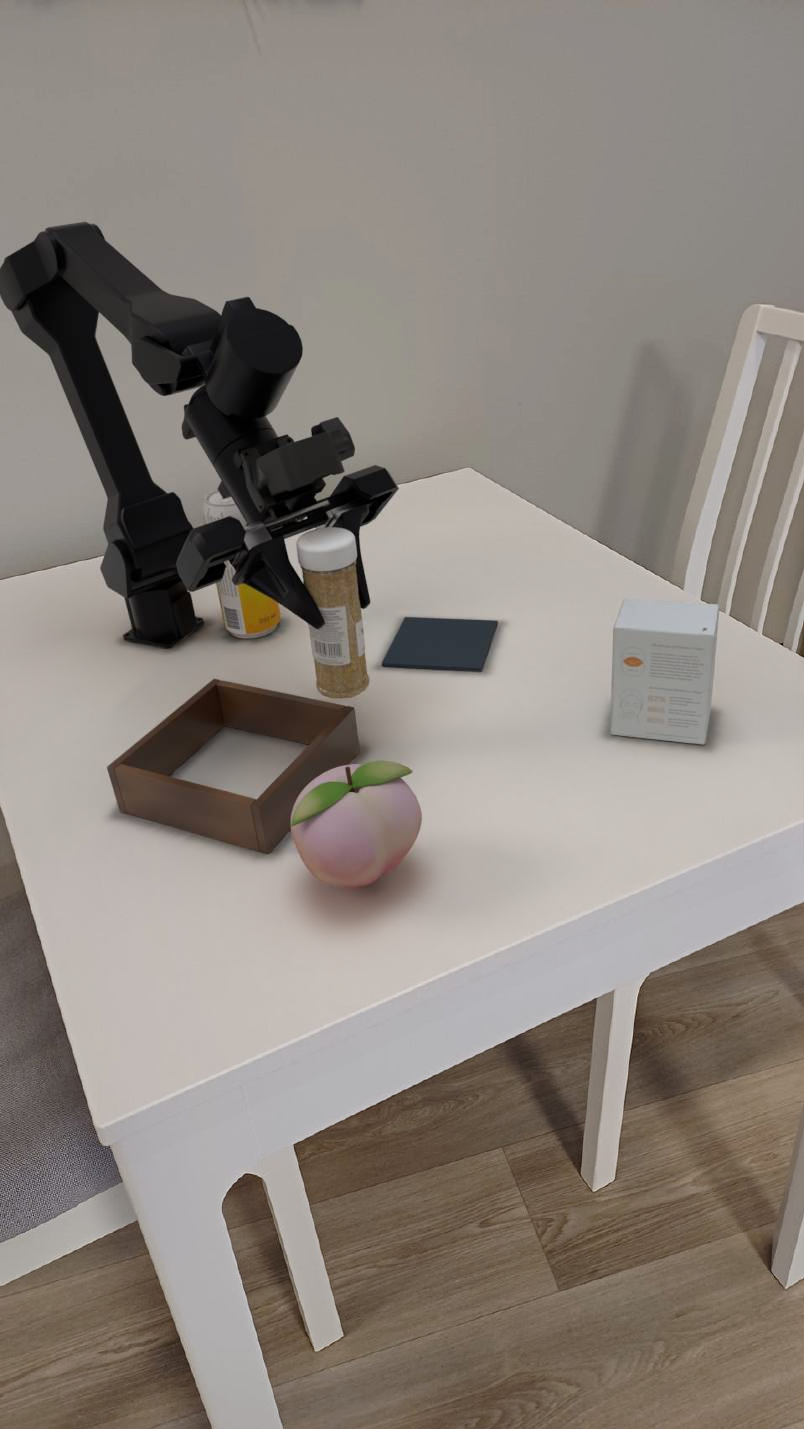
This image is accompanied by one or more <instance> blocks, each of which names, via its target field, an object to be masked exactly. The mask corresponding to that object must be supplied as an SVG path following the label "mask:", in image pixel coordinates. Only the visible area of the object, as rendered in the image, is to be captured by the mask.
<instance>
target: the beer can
mask: <svg viewBox="0 0 804 1429" xmlns="http://www.w3.org/2000/svg"><path fill="white" fill-rule="evenodd" d="M201 513H202V518H203V523H204V524H203V525H205V524H208V523H211V522H214V521H217V520H220V519H222V518H225V517H228V516H231V517H233V518H236V519H238V520H239V521H240V522H241V524H242V526H243V527H245V526H246V524H247V523H246V521H245V519H244V518H243V516H242V514H241V512H240V511H239V509H238V507H237V506H236V504H235V502H234V501H233V499H232V497H229V498H226V499H223V498H222V496H221V494H220V493H219V491H218V488H216V489H212V490H211V491H209V492H207V493H206V494H205V495H204V496H203V503H202V507H201ZM224 563H225V565H226V569H225V572H224V576H223V578H222V580H221V581H220V582H217V583H215V586H216V590H217V595H218V600H219V606H220V611H221V616H222V621H223V626H224V628H225V630H227V631H228V632H230V634H231V635H232V636H234V637H236V638H239V639H245V640H246V639H247V640H249V639H257V638H258V639H259V638H261V637H264V636H267V635H269V634H272V633H273V632H274V631H275V630H276V628H277V626H278V624H280V623H279V622H281V619H282V618H281V612H280V604H279V603H278V602H276V601H275V600H273V599H271V598H269V597H268V596H266V595H264V594H262V593H260V592H259V591H257V590H255V589H253V588H251V587H250V586H248V585H246V584H240V585H234V584H233V582H232V581H231V579H232V578H233V576H234V574H235V573H236V571H235V569H234V568H233V566H232V565H231V563H230V562H229V560H228V561H225V562H224Z"/></svg>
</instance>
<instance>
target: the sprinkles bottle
mask: <svg viewBox="0 0 804 1429" xmlns="http://www.w3.org/2000/svg"><path fill="white" fill-rule="evenodd" d="M296 555H297V561H298V564H299V566H300V569H301V572H302V582H303V584H304V585H305V587H306V589H307V590H308V592H309V593H310V595H311V597H312V598H313V600H314V601H315V603H316V605H317V607H318V608H319V611H320V613H321V615H322V617H323V619H324V621H325V624H324V625H323V626H322V628H320V629H315V628H314V627H313V626H311V625H310V624H308V623H307V625H308V632H309V641H310V648H311V656H312V657H313V664H314V669H315V676H316V680H315V681H316V682H315V687H316V690H317V692H318V693H319V694H320V695H322V696H324V697H327V698H329V699H338V700H339V699H340V700H344V699H351V698H353V697H356V696H359V695H360V694H362V693H364V692H365V691H366V690H367V688H368V687H369V686H370V685H369V684H370V675H369V673H368V669H367V668H368V667H367V658H366V642H365V632H364V631H365V630H364V624H363V616H362V608H361V606H360V601H359V595H358V584H357V574H356V566H355V565H356V558H357V549H356V541H355V536H354V534H353V533H352V532H350V531H349V530H346V529H343V528H336V527H326V528H319V529H316V528H313V529H310V530H308V531H305V532H303V533H301V534H300V536H299V537H298V538H297V540H296Z"/></svg>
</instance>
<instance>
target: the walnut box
mask: <svg viewBox="0 0 804 1429" xmlns="http://www.w3.org/2000/svg"><path fill="white" fill-rule="evenodd" d="M223 727H229V728H234V729H236V730H237V729H238V730H243V731H247V732H251V733H255V734H260V735H264V736H268V737H271V738H272V737H273V738H278V739H281V740H286V741H290V742H294V743H298V744H299V743H300V744H304V745H307V747H305V749H304V750H302V751H301V753H300V754H299V755H298V756H297V757H296V758H295V759H294V760H293V761H292V762H291V763H289V765H288V766H287V767H286V768H285V769H284V770H283V771H282V773H280V774H279V776H278V777H276V778H275V780H274V781H273V782H272V783H271V784H270V785H269V786H268V787H267V788H266V789H265V790H264V791H263V792H262V793H261V794H260V795H259V796H258V797H257V798H254V797H250V796H246V795H242V794H238V793H235V792H231V791H227V790H223V789H220V788H215V787H212V786H208V785H203V784H200V783H196V782H192V781H189V780H185V779H181V778H176V777H174V776H170V775H171V774H172V773H174V772H175V771H176V770H177V769H178V768H179V767H180V766H181V765H182V764H184V763H185V761H187V760H188V759H189V758H191V756H192V755H193V754H195V753H196V752H197V751H198V750H199V749H200V748H201V747H203V746H204V745H205V744H206V743H207V742H208V741H209V740H210V739H212V738H213V737H214V736H215V735H216V734H217V733H218V732H219V731H220V730H222V729H223ZM360 752H361V746H360V740H359V730H358V721H357V714H356V707H355V706H350V705H345V704H341V703H336V702H331V701H325V700H321V699H317V698H312V697H306V696H301V695H297V694H291V693H287V692H281V691H278V690H277V691H276V690H272V689H267V688H261V687H257V686H252V685H248V684H242V683H238V682H233V681H227V680H222V679H218V678H213V679H212V680H210V681H209V682H208V683H207V684H206V685H205V686H203V687H201V689H200V690H198V691H197V692H196V693H194V694H193V695H192V696H191V697H190V698H188V699H187V700H186V701H185V702H183V703H182V704H181V705H180V706H179V707H178V708H176V709H175V710H174V711H173V712H172V713H170V714H169V715H168V716H166V718H164V719H162V721H161V722H160V723H158V724H157V725H156V726H155V727H153V728H152V729H151V730H150V731H148V732H147V733H146V734H145V735H144V736H143V737H141V738H140V739H139V740H137V741H136V742H135V743H134V744H133V745H132V746H130V747H129V748H127V750H125V751H124V752H123V753H122V754H121V755H120V756H118V757H117V758H116V759H114V760H113V761H112V762H111V763H109V764H108V765H107V766H106V769H107V774H108V777H109V780H110V784H111V787H112V790H113V793H114V797H115V801H116V805H117V807H118V811H119V812H121V813H124V814H127V815H130V816H134V817H138V818H141V819H143V820H144V819H145V820H148V821H151V822H155V823H157V824H162V825H166V826H169V827H173V828H176V829H180V830H183V831H186V832H191V833H193V834H196V835H200V836H204V837H207V838H211V839H214V840H217V841H221V842H225V843H229V844H232V845H236V846H238V847H243V848H246V849H250V850H253V851H257V852H261V853H264V854H268V855H269V854H270V853H271V852H272V851H273V849H274V848H275V847H276V846H277V845H278V844H279V843H280V842H281V841H282V840H283V838H285V836H286V835H287V834H288V833H289V832H290V831H291V813H292V810H293V806H294V804H295V802H296V800H297V798H298V796H299V795H300V793H301V792H302V790H303V789H304V788H305V787H306V786H307V785H308V784H309V783H310V782H311V781H313V780H314V779H315V778H316V777H318V776H320V775H321V774H323V773H324V772H326V771H329V770H331V769H333V768H336V767H339V766H344V765H350V763H351V762H352V760H353V759H355V757H356V756H357V755H358V754H359V753H360Z"/></svg>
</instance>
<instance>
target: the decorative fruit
mask: <svg viewBox="0 0 804 1429" xmlns="http://www.w3.org/2000/svg"><path fill="white" fill-rule="evenodd" d="M410 774H413V770H412V769H411V768H410V767H408V766H406V765H404V764H402V763H399V762H395V761H390V760H374V761H371V762H366V763H364V764H359V763H358V764H357V763H355V764H354V763H352V764H348V765H344V766H339V767H336V768H333V769H331V770H329V771H326V772H324V773H323V774H321V775H320V776H318V777H316V778H315V779H314V780H313V781H311V782H310V783H309V784H308V785H307V786H306V787H305V788H304V789H303V790H302V792H301V793H300V795H299V796H298V798H297V800H296V802H295V804H294V806H293V810H292V813H291V829H290V832H291V837H292V840H293V843H294V845H295V848H296V851H297V852H298V855H299V857H300V860H302V862H303V864H304V866H305V867H306V869H307V870H308V871H309V872H310V874H311V875H312V876H314V877H315V878H316V879H318V880H319V881H320V882H323V883H325V884H327V885H330V886H334V887H338V888H339V887H340V888H361V887H365V886H368V885H371V884H373V883H374V882H375V881H377V880H378V879H379V878H380V877H381V876H383V875H385V874H388V873H390V872H392V871H393V870H394V869H395V868H396V867H398V866H399V865H400V864H401V862H403V860H404V859H405V858H406V856H407V855H408V854H409V852H410V850H411V849H412V848H413V846H414V844H415V842H416V840H417V839H418V836H419V834H420V831H421V827H422V821H423V813H422V807H421V805H420V802H419V800H418V797H417V796H416V794H415V792H414V791H413V789H412V788H411V786H410V785H408V783H407V782H406V781H405V780H404V779H403V778H404V777H406V776H409V775H410Z"/></svg>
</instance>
